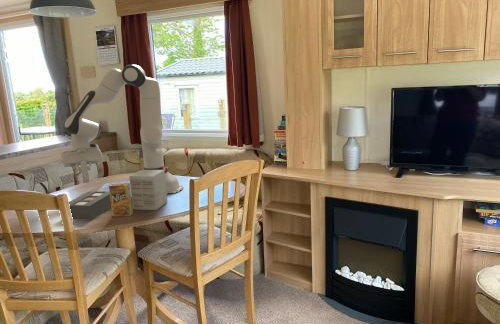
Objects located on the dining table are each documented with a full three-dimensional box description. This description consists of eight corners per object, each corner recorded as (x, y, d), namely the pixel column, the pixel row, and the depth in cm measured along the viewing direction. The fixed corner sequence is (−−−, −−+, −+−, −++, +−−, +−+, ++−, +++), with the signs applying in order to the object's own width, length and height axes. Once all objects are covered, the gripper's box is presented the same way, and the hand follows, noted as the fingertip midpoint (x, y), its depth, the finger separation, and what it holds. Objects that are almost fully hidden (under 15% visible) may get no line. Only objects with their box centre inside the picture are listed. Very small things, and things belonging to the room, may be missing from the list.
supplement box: (144, 201, 205) (141, 169, 201) (167, 201, 202) (164, 169, 198) (132, 209, 193) (128, 175, 189) (156, 210, 190) (153, 176, 186)
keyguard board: (115, 204, 202) (113, 191, 200) (91, 219, 181) (89, 205, 179) (90, 204, 204) (89, 191, 202) (64, 219, 183) (62, 205, 181)
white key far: (90, 207, 187) (89, 201, 186) (84, 211, 182) (83, 205, 181) (80, 207, 188) (79, 201, 187) (74, 211, 183) (73, 205, 182)
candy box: (112, 217, 183) (108, 186, 180) (115, 213, 187) (111, 183, 184) (130, 216, 183) (127, 185, 180) (133, 213, 187) (129, 182, 184)
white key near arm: (105, 198, 200) (104, 193, 200) (99, 202, 195) (99, 196, 195) (96, 198, 201) (95, 193, 201) (90, 201, 196) (89, 196, 196)
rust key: (98, 203, 194) (97, 197, 193) (92, 206, 189) (91, 200, 188) (88, 203, 194) (87, 197, 194) (82, 206, 189) (81, 200, 189)
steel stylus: (89, 180, 210) (86, 159, 208) (89, 182, 208) (86, 160, 205) (83, 181, 209) (80, 160, 206) (83, 183, 206) (80, 161, 204)
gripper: (60, 148, 206) (62, 170, 200) (100, 144, 214) (104, 164, 208) (61, 155, 211) (64, 176, 205) (101, 150, 219) (104, 170, 213)
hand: (84, 170), depth 206 cm, fingers closed on steel stylus, 3 cm apart
